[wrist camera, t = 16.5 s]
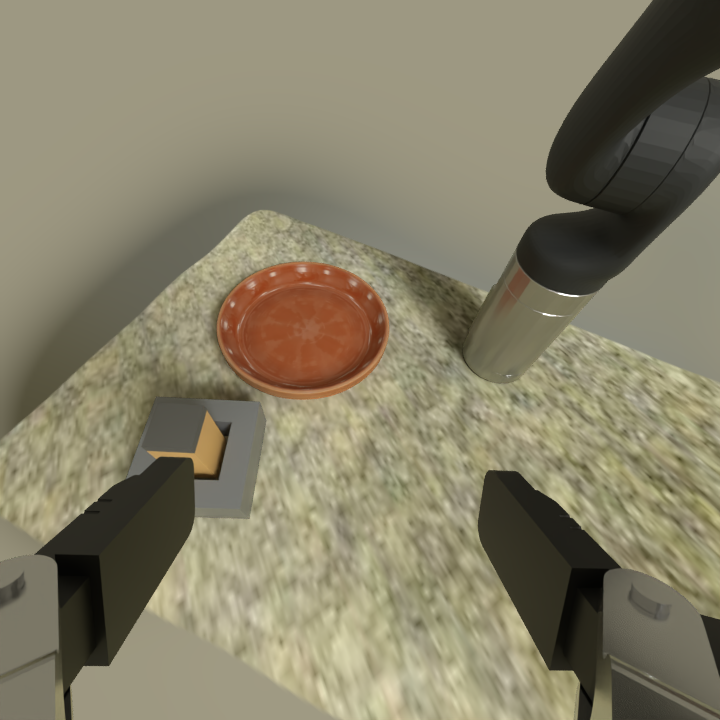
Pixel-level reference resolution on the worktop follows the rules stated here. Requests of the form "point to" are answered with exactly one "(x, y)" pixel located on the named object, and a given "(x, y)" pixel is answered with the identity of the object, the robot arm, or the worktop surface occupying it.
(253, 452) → the socket block
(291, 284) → the saucer
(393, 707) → the worktop surface
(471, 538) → the worktop surface
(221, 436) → the plug
